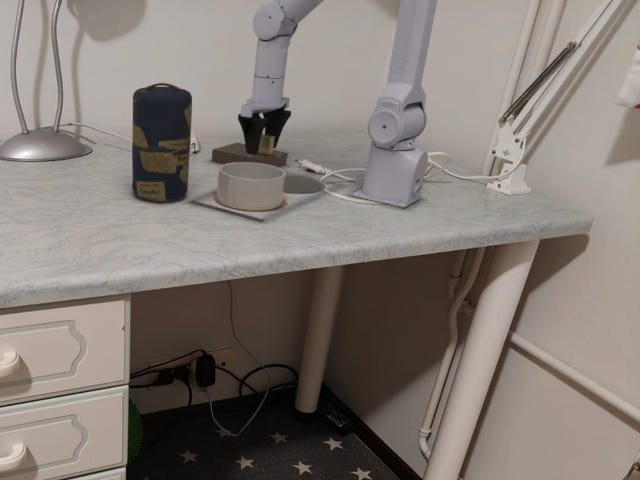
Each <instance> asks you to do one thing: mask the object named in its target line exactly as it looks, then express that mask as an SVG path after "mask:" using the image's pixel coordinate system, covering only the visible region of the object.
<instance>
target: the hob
mask: <svg viewBox="0 0 640 480" xmlns="http://www.w3.org/2000/svg"><path fill="white" fill-rule="evenodd" d="M324 190H326V185H325V184H324V183H322V182H321V181H319V180H317V179H313V178H310V177H307V176H301V175H293V174H286V179H285V187H284V194H290V195H311V194H318V193H321V192H322V191H324ZM213 201H214V202H215V203H216V204H218V205H219V206H222V207H224V208H220V207H217V206H214V205H211V204H208V203H207V204H206V203H203V202H199V201H195V200H191V201H188V203H189V204H193V205H197V206H200V207H204V208H208V209H211V210H215V211H218V212H223V213H225V214H229V215H233V216H237V217H239V218H244V219H248V220H252V221H254V222H259V223H263V222H264V221H266V220H265V219H261V218H259V217H256V216H255V217H254V216H251V215H248V214H243V213H240V212H245V213H247V212H248V213H269V212H277V211H280V210H283V209H285V208H286V207H287V206H288V201H287V199H285V198H283V201H282V204H281V206H279V207H277V208H275V209H270V210H261V211H252V210H242V209H236V208H231V207H228V206H225V205H223V204H221V203H220V202H218V201H217V193H216V194H215V195H214V196H213ZM225 208H227V209H225ZM230 209H231V210H230ZM232 210H233V211H232ZM236 211H239V212H236Z"/></svg>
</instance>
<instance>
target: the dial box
mask: <svg viewBox="0 0 640 480" xmlns="http://www.w3.org/2000/svg"><path fill="white" fill-rule="evenodd" d="M287 160H288V152H286V151H281V150H277V149H273V154H272V155H269V156H268V155H263V154H258V153H257V154H256V155H253V154H248V153H246V147H245V143H242V142H233V143H231V144H226V145H223V146H220V147H215V148H213V149H212V150H211V163H215V164H220V165H224V164H228V163H235V162H254V163H263V164H268V165H273V166H276V167H279V168H283V167H285V166H287V162H288V161H287Z"/></svg>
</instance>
